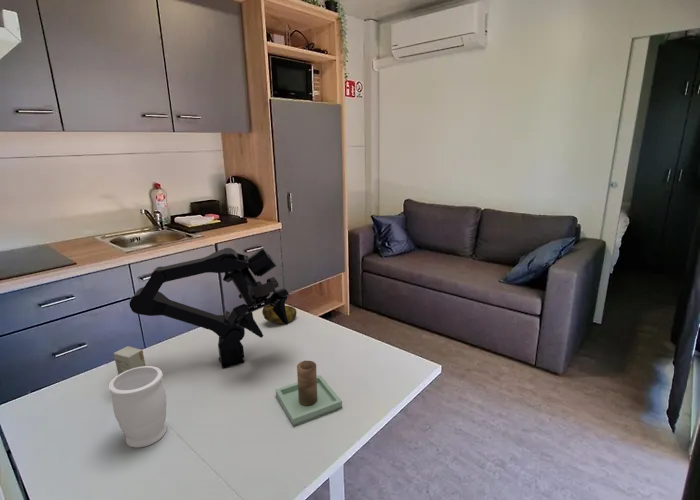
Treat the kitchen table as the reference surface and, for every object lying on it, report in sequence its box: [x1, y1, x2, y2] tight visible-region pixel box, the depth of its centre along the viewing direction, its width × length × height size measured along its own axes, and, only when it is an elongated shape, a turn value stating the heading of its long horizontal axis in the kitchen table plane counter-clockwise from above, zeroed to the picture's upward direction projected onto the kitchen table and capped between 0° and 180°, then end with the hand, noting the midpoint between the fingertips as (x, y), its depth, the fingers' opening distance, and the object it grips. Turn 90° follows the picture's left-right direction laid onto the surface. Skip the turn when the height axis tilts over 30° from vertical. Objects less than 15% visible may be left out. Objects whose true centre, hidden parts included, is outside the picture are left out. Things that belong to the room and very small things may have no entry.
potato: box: [261, 304, 297, 324], centre depth 143 cm, size 8×13×8 cm, turn 108°
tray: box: [275, 374, 343, 427], centre depth 99 cm, size 13×13×2 cm
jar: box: [108, 365, 167, 448], centre depth 87 cm, size 11×10×15 cm
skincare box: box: [113, 345, 147, 375], centre depth 103 cm, size 6×4×12 cm
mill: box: [296, 360, 318, 406], centre depth 97 cm, size 5×5×11 cm
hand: (275, 330), depth 108 cm, fingers open, 9 cm apart
